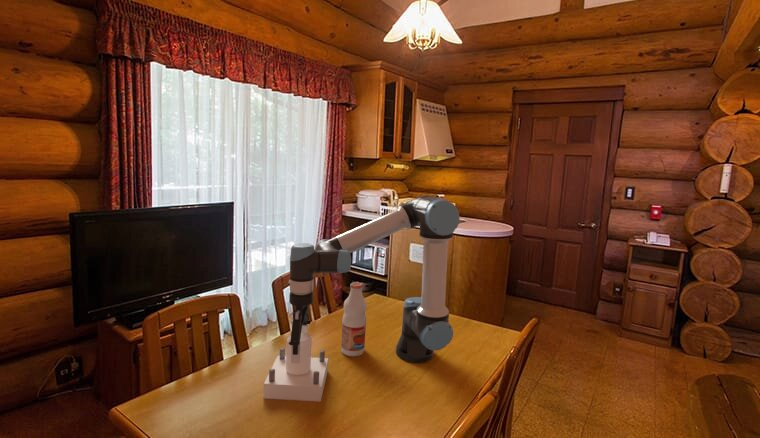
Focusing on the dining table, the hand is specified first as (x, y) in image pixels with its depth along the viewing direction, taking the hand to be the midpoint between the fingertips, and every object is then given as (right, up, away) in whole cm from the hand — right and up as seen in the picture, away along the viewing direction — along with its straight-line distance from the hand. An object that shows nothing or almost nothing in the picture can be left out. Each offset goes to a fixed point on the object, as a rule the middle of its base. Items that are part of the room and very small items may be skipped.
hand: (299, 352), depth 133 cm
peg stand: (-1, -11, +2) cm, 11 cm away
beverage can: (-1, -6, +1) cm, 7 cm away
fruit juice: (+16, -9, +27) cm, 32 cm away
